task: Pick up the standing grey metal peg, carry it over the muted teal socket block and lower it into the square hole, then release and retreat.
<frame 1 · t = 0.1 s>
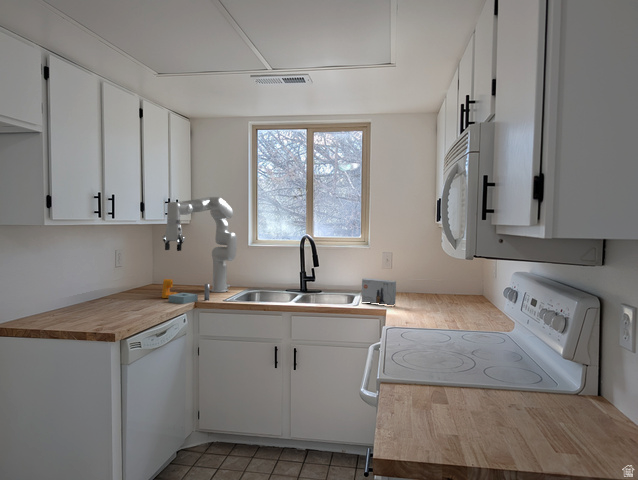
hand: (173, 250, 261), 31 cm above the countertop, fingers open, 9 cm apart
peg: (206, 300, 267), on the countertop
skincare box: (378, 305, 267), on the countertop
bracket: (169, 298, 273), on the countertop
socket block: (183, 301, 261), on the countertop
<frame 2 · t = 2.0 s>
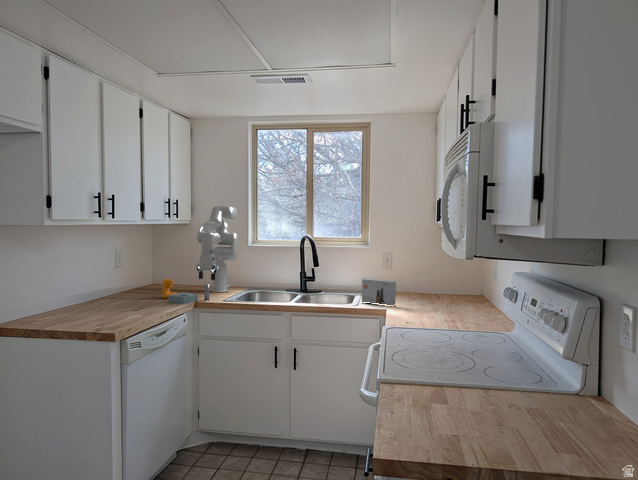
hand: (206, 279, 266), 13 cm above the countertop, fingers open, 9 cm apart
nothing on the countertop moved.
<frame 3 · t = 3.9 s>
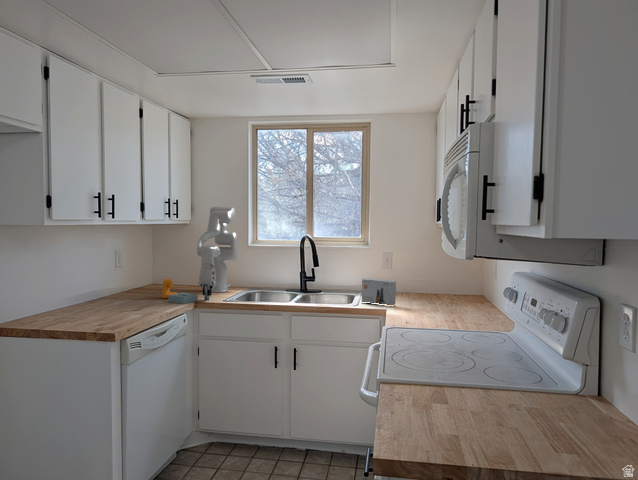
hand: (206, 295, 267), 3 cm above the countertop, fingers closed on peg, 3 cm apart
peg: (206, 300, 267), on the countertop, touching gripper
everything else where it was.
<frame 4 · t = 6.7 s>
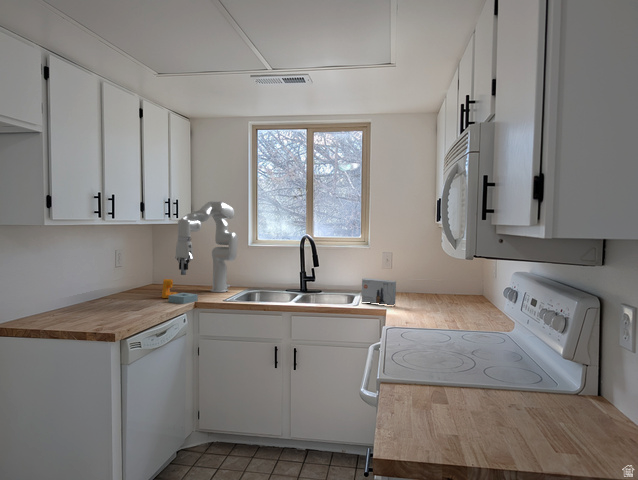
hand: (183, 269, 260), 20 cm above the countertop, fingers closed on peg, 3 cm apart
peg: (183, 274, 260), point 17 cm above the countertop, touching gripper
everything else where it was.
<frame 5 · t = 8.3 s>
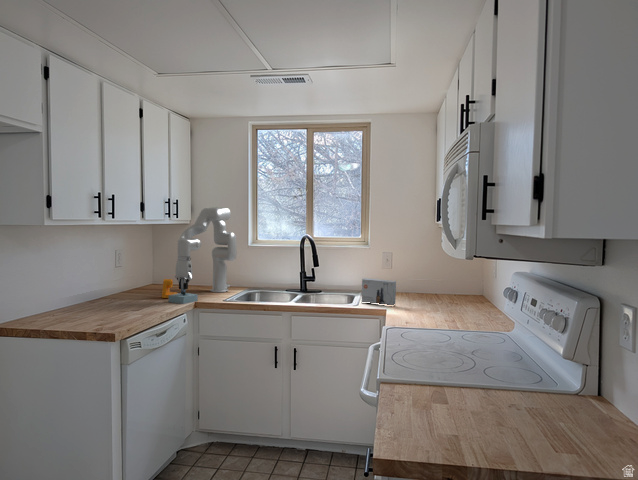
hand: (183, 288, 261), 8 cm above the countertop, fingers closed on peg, 3 cm apart
peg: (183, 293, 261), point 5 cm above the countertop, touching gripper
everything else where it was.
when the fingers open (5 cm above the countertop, at t = 9.5 s): peg drops 1 cm, resting in socket block.
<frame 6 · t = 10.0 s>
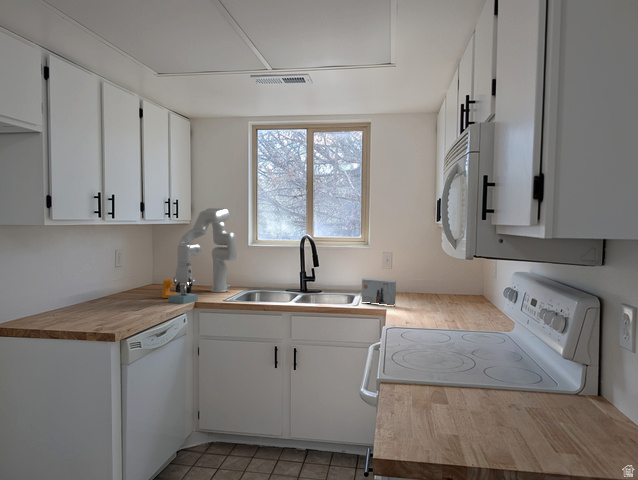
hand: (183, 292, 261), 5 cm above the countertop, fingers open, 8 cm apart
peg: (183, 301, 261), resting in socket block
everything else where it was.
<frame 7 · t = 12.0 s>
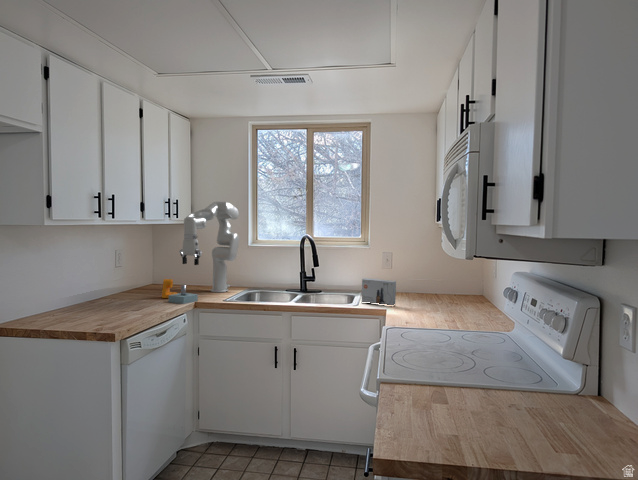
hand: (190, 264, 267), 22 cm above the countertop, fingers open, 9 cm apart
nothing on the countertop moved.
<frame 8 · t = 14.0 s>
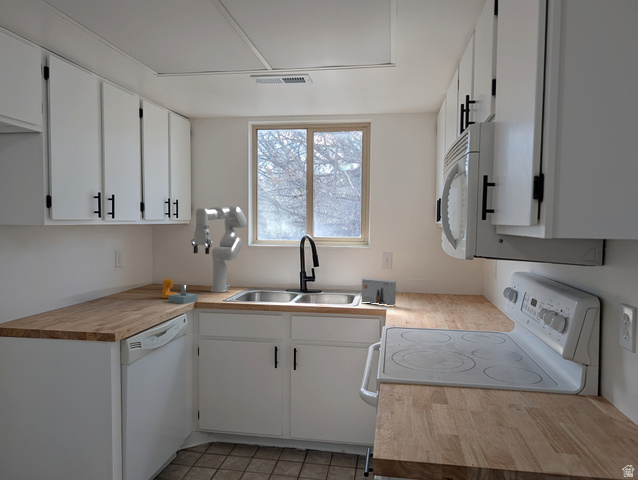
hand: (201, 253, 279), 28 cm above the countertop, fingers open, 9 cm apart
nothing on the countertop moved.
at the end: peg 0.0 cm off-centre on the socket block, point 0.0 cm above the socket block's base; peg tilted 0°; the gripper is holding nothing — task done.
